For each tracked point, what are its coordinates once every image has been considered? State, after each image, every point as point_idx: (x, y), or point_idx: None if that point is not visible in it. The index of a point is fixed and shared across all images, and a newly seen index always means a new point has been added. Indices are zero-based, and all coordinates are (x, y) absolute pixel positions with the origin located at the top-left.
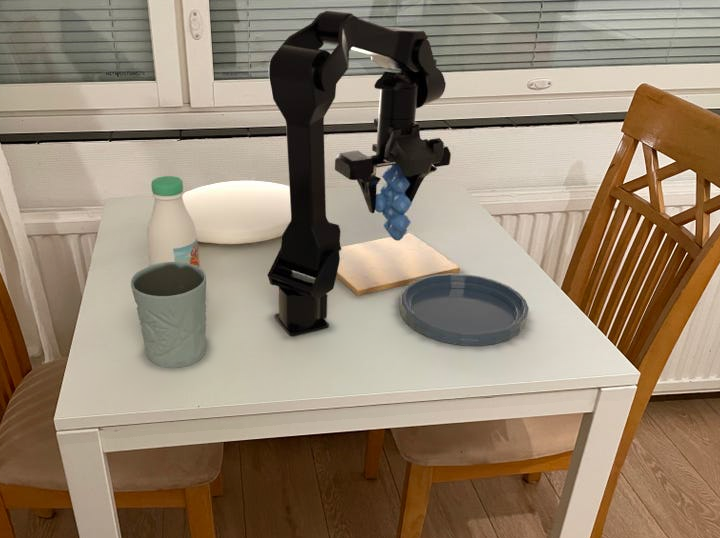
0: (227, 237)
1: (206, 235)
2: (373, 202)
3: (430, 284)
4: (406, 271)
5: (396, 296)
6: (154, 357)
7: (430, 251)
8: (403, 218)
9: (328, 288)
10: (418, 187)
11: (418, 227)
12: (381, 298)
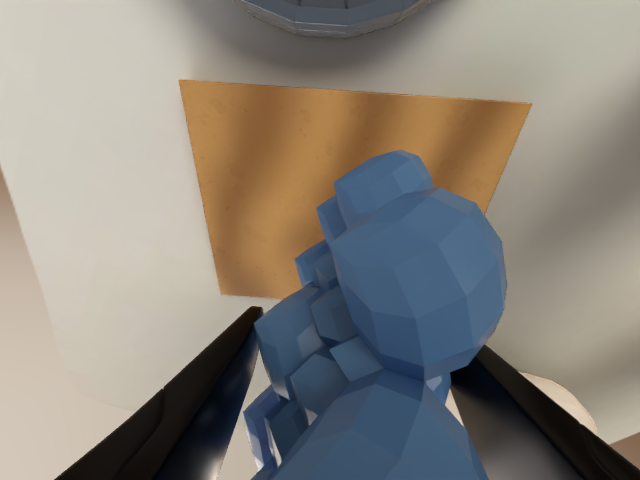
0: (570, 396)
1: (586, 411)
2: (506, 373)
3: (331, 1)
4: (335, 140)
5: (438, 38)
6: None
7: (217, 206)
8: (406, 183)
9: None
10: (155, 399)
11: (189, 310)
12: (481, 51)
